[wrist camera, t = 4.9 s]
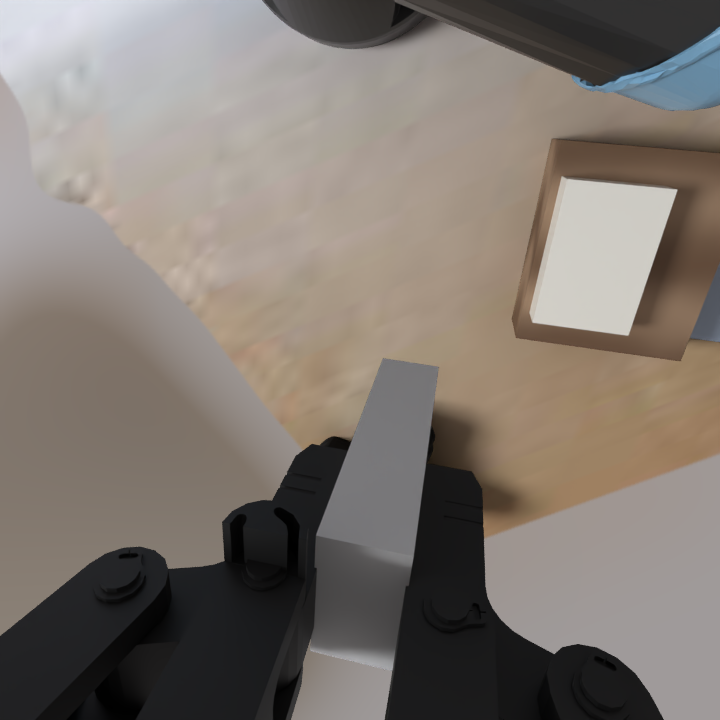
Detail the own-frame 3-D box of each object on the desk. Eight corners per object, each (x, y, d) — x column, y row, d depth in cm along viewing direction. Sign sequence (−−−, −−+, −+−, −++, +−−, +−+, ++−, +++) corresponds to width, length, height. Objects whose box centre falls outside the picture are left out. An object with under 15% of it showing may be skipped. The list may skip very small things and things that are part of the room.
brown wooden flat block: (551, 138, 34) (561, 140, 30) (729, 153, 32) (761, 157, 28) (511, 318, 39) (515, 337, 36) (660, 339, 38) (680, 361, 34)
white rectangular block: (561, 176, 31) (567, 179, 29) (665, 185, 30) (677, 189, 28) (529, 312, 35) (532, 322, 33) (620, 324, 34) (628, 335, 32)
